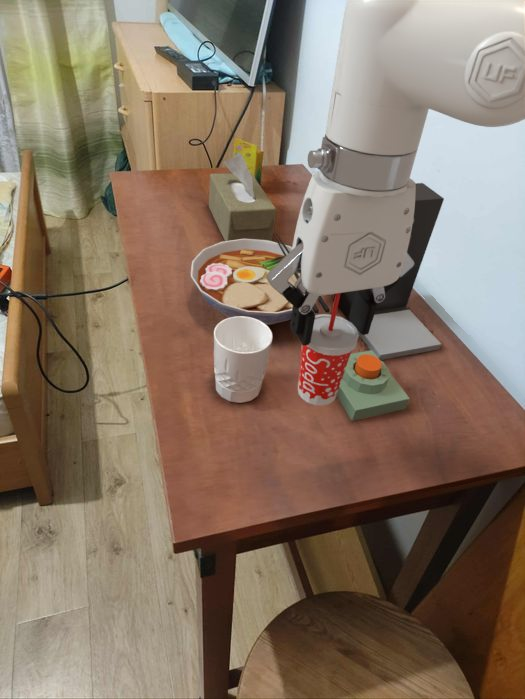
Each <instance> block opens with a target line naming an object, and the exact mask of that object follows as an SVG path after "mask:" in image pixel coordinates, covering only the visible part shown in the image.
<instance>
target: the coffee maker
mask: <svg viewBox="0 0 525 699" xmlns="http://www.w3.org/2000/svg"><path fill="white" fill-rule="evenodd" d="M415 184H416V192H415V209H414V218H413V224H412V230H411V235H410V240H409V245H408V249H407V253H408V254H409V256H410V257H411V258H412V260H413V261H414V266H413V267H412V268H411V269H410V270H409V271H408V272H407V273H405V274H404V275H403V276H402V277H399V280H398V282H397V283H396V284H395V285H394V286H393V287H392V288H391V289H390V290H388V291H387V292H386V293H385V299H384V300H383V301H382V302H380V303H377V307H376V310H375V314H374V317H373V321H372V323H371V326H370V330H369V333H368V334H366V335H362V334H360V332H359V331H358V330H357V331H358V334H359V337H360V338H361V340H362V341H363V342H364V343H365V345H366V346H367V347H368V350H369V351H370V350H373V352H374V353H375V354H376V356H377V357H378V358H379V359H380V360H381V361H383V360H388V359H389V360H390V359H393V358H399V357H405V356H410V355H415V354H420V353H426V352H432V351H437V350H440V349H441V346H442V343H441V342H440V341H439V340H438V339H437V337H435V335H434V334H433V333H432V332H431V331H430V330H429V329H428V328H427V327H426V326H425V325H424V323H423V322H422V321H420V319H418V317H417V316H416V315H415V314H414V313H413V312H412V311H411V310H410V309H409V307H407V305H408V302H409V300H410V297H411V294H412V292H413V287H414V286H415V282H416V279H417V277H418V274H419V271H420V268H421V265H422V262H423V261H424V257H425V254H426V251H427V248H428V246H429V242H430V241H431V237H432V234H433V232H434V228H435V226H436V223H437V220H438V217H439V215H440V211H441V209H442V206H443V204H444V201H445V198H444V197H443V196H441V195H440V194H438V193H437V192H436V191H434V190H433V189H432V188H430V187H429V186H428V185H426V184H425V183H424V182H417V183H416V182H415ZM355 292H356V291H351V292H344V293H341V294H340V299H339V304H338V308H337V309H338V310H339V312H341V314H342V315H343V317H344V318H345V319H346V320H347V321H349V322H351V321H350V319H349V316H350V312H351V308H352V304H353V299H354V295H355ZM335 295H336V294H333V297H332V302H333V303H334V300H335ZM351 323H352V322H351ZM352 324H353V323H352Z"/></svg>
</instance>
